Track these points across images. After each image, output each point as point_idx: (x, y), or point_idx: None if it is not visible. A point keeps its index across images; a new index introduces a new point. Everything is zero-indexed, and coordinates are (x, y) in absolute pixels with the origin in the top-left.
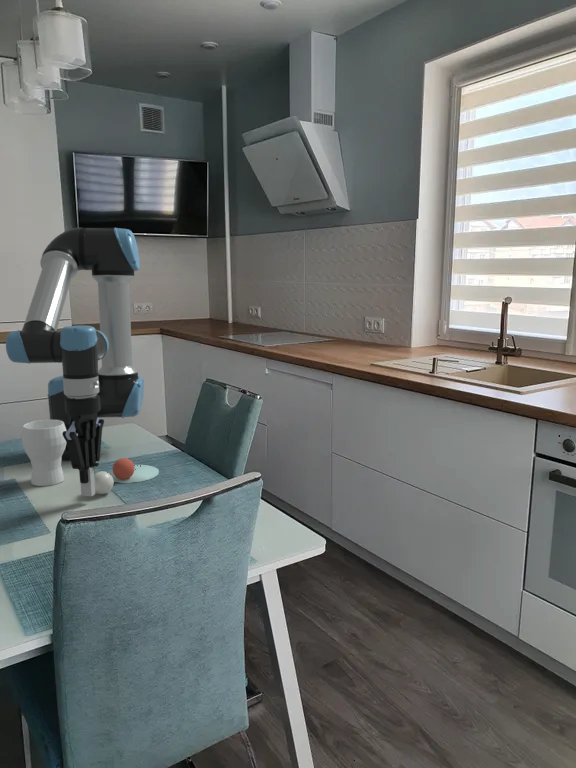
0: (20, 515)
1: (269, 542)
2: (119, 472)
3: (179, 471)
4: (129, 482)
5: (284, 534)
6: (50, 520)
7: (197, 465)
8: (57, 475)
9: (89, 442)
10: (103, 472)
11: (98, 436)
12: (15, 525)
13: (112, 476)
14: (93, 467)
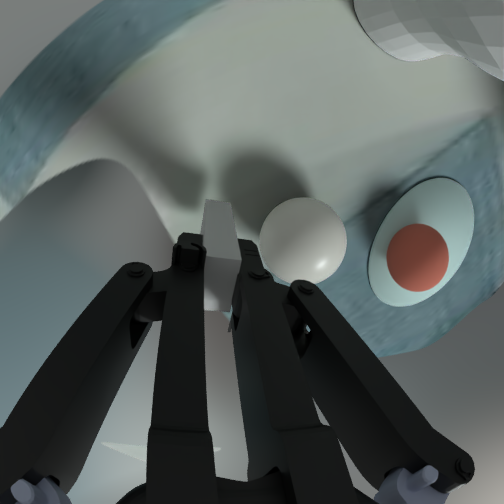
0: (86, 49)
1: (137, 448)
2: (392, 258)
3: (411, 332)
4: (369, 268)
5: None
6: (65, 163)
7: (428, 343)
8: (399, 44)
9: (249, 427)
10: (313, 273)
11: (339, 440)
12: (27, 89)
13: (420, 206)
14: (228, 311)
